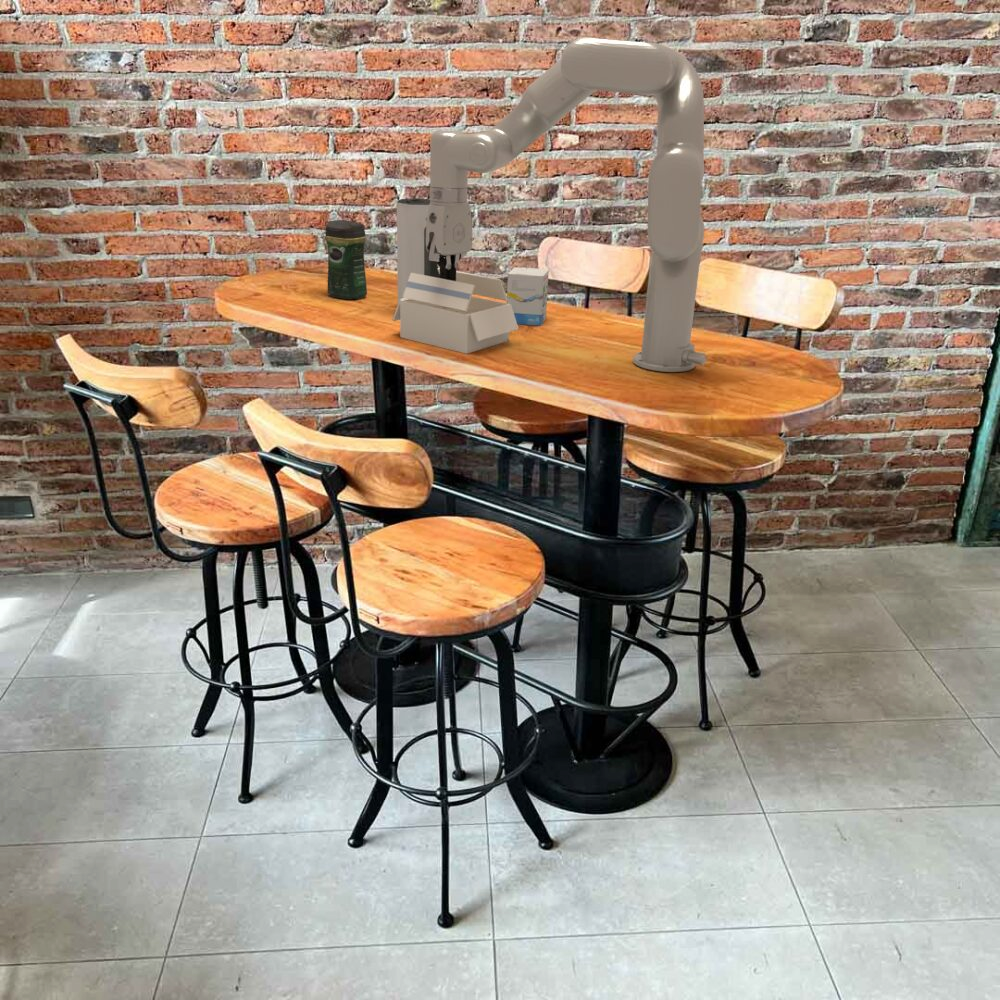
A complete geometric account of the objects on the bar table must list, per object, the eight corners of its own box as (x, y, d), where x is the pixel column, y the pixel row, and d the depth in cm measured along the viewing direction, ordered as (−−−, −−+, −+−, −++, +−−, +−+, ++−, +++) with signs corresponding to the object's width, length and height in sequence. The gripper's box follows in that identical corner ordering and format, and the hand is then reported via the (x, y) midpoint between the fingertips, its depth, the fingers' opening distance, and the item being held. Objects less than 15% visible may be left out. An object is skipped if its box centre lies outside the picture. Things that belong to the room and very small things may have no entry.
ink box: (540, 326, 225) (543, 275, 220) (504, 323, 226) (506, 272, 221) (546, 318, 232) (549, 268, 228) (511, 315, 234) (513, 266, 229)
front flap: (466, 311, 198) (474, 285, 198) (465, 310, 198) (473, 284, 198) (403, 297, 208) (411, 273, 207) (402, 297, 207) (410, 272, 207)
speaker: (413, 319, 226) (413, 203, 215) (387, 310, 233) (386, 197, 223) (449, 313, 233) (451, 200, 222) (423, 305, 240) (423, 195, 229)
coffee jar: (372, 296, 246) (371, 221, 239) (351, 301, 240) (349, 224, 233) (343, 291, 251) (341, 216, 244) (322, 296, 245) (319, 219, 238)
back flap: (507, 299, 208) (500, 279, 204) (506, 301, 208) (499, 280, 204) (446, 287, 218) (438, 267, 214) (445, 288, 218) (437, 268, 214)
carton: (519, 343, 210) (520, 305, 207) (477, 356, 199) (478, 316, 196) (434, 323, 223) (434, 287, 220) (390, 335, 213) (390, 297, 209)
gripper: (438, 200, 190) (437, 295, 197) (486, 195, 201) (484, 284, 208) (409, 196, 194) (410, 289, 201) (458, 191, 205) (457, 279, 212)
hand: (447, 286), depth 205 cm, fingers closed
